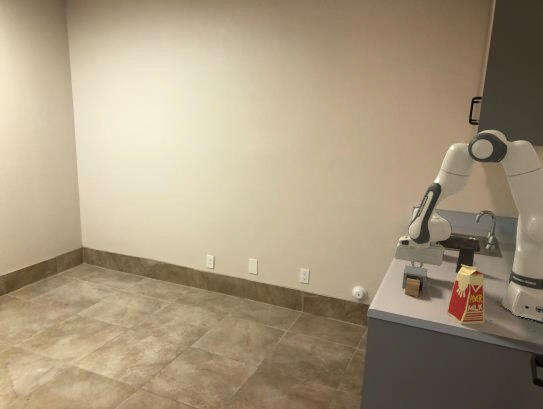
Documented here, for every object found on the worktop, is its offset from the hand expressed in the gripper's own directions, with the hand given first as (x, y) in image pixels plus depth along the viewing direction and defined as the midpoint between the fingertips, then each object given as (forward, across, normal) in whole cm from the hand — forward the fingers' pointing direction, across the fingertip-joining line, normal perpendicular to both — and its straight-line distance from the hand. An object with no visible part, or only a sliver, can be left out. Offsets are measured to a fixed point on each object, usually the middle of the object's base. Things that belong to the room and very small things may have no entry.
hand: (416, 271), depth 178 cm
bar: (+2, +1, +10) cm, 10 cm away
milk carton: (+2, -18, +35) cm, 39 cm away
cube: (+2, 0, +21) cm, 21 cm away
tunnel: (+2, 0, +14) cm, 14 cm away
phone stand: (+2, -20, -16) cm, 26 cm away
